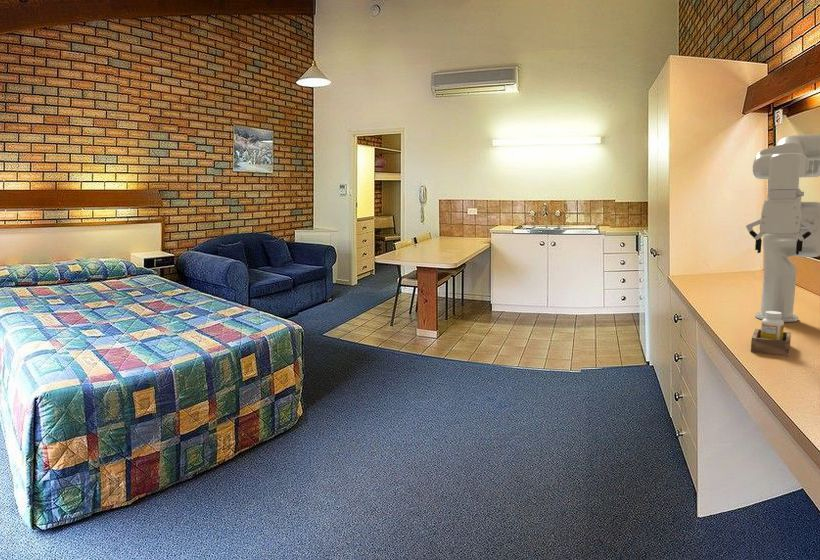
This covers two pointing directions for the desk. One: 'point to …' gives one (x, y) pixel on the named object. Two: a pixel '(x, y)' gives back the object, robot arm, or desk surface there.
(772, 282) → the robot arm
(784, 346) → the walled box
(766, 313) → the supplement bottle
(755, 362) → the desk surface
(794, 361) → the desk surface
